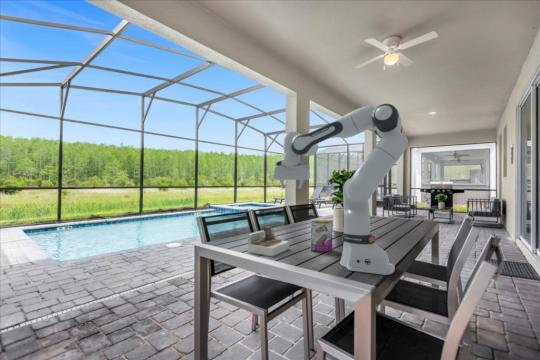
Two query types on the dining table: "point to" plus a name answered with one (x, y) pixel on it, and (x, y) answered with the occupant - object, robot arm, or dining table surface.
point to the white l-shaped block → (268, 250)
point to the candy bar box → (321, 235)
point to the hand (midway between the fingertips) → (291, 188)
